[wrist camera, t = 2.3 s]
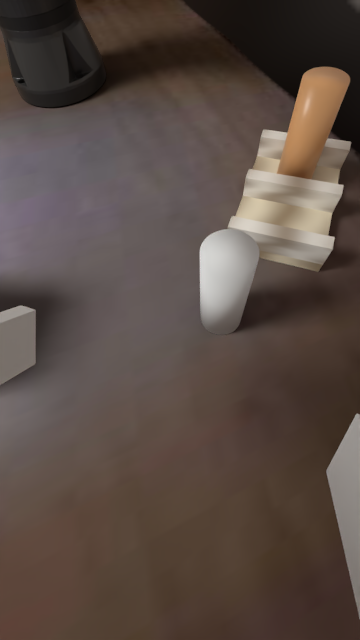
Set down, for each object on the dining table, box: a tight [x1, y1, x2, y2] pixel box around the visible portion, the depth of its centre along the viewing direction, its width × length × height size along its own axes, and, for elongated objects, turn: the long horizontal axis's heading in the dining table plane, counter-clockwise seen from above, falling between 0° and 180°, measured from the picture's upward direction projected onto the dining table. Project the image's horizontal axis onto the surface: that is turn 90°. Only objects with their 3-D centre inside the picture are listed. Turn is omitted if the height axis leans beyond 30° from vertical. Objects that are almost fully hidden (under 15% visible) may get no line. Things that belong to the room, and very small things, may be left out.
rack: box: [228, 130, 351, 272], centre depth 32 cm, size 10×16×4 cm, turn 160°
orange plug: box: [277, 67, 350, 179], centre depth 30 cm, size 4×4×10 cm
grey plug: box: [200, 229, 260, 335], centre depth 24 cm, size 4×4×10 cm
